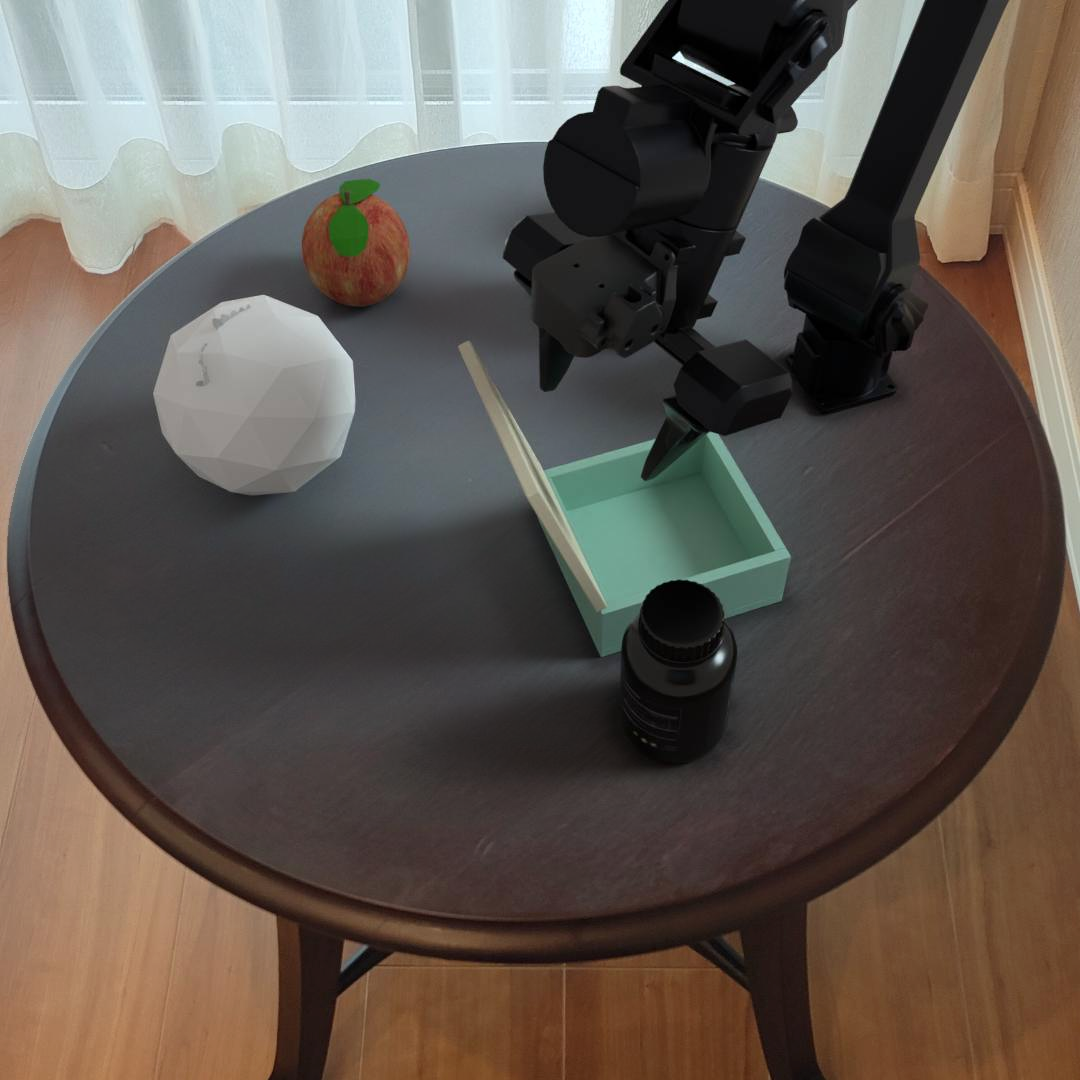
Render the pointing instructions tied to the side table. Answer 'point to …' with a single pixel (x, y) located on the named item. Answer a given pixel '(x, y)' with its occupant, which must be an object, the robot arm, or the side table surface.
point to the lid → (531, 476)
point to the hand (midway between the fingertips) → (596, 433)
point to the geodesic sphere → (256, 396)
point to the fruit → (356, 245)
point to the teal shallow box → (666, 533)
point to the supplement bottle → (677, 673)
